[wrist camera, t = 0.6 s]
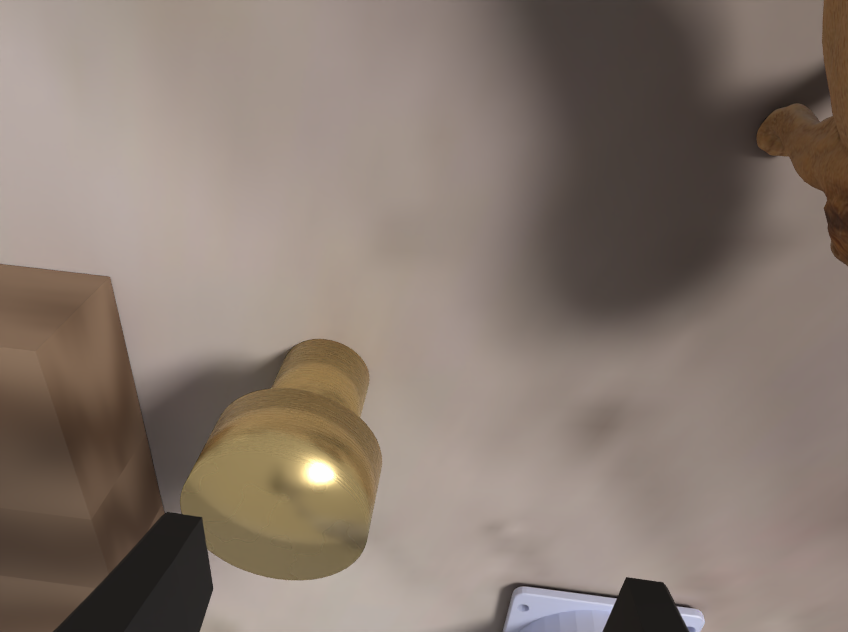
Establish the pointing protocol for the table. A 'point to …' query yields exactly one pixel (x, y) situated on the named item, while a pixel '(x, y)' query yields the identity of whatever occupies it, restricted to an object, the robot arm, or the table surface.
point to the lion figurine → (820, 131)
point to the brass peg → (291, 470)
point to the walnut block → (66, 445)
